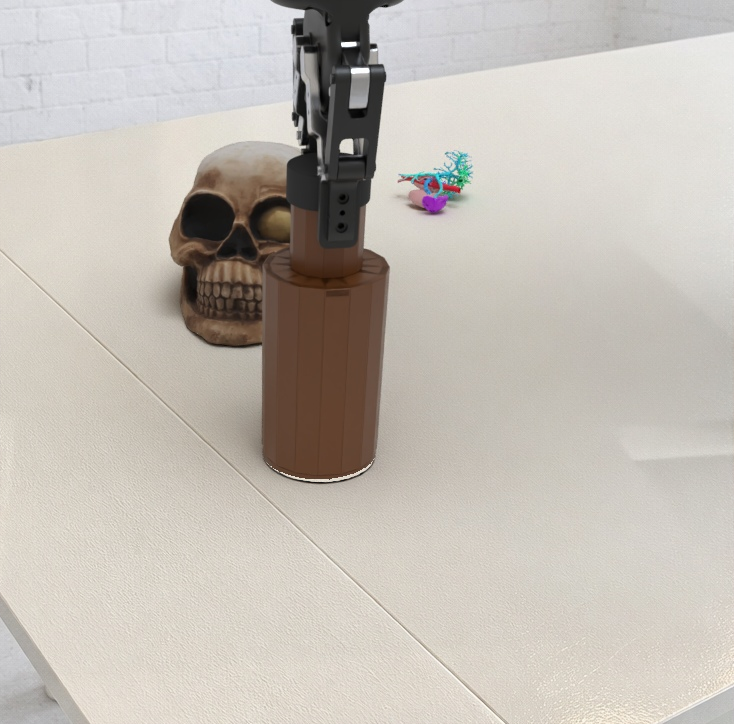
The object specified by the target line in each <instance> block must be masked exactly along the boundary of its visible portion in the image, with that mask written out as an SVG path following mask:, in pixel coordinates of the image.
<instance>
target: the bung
mask: <svg viewBox="0 0 734 724" xmlns="http://www.w3.org/2000/svg"><path fill="white" fill-rule="evenodd" d="M351 155H353V153H349V152H342V151H340V152H339V156H351ZM317 166H318V153H317V152H315V153H307V154H303V155H299V156H296V157H294V158H292V159H290V160H289V161H288V163H287V176H286V199H287V201H288V202H289V203H290V204H292V205H293V206H296V207H298V208H301V209H305V210H310V211H318V191H319V177H318V176H317V171H316V170H317ZM371 193H372V179H365V181H361V197H360V207H363V206H364V205H366V206H367V204H369V202H370V201H371Z"/></svg>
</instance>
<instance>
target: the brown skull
mask: <svg viewBox="0 0 734 724" xmlns="http://www.w3.org/2000/svg"><path fill="white" fill-rule="evenodd" d="M299 155H301V148H300V147H296V146H293V145H290V144H287V143H282V142H276V141H275V142H274V141H264V140H245V141H237V142H234V143H229V144H227V145H224V146H222V147H219V148H218V149H216V150H214V151H212V152H211V153H209V154H207V155H206V156H205V157H203V159H202V160H201V161H200V163H199V165H198V167H197V169H196V174H195V177H194V180H193V184H192V187H191V189H190V190H189V191H188V193H187V194H186V195H185V197H184V199H183V201H182V204H181V206H180V210H179V213H177V216H176V218H175V219H174V221H173V224H172V227H171V229H170V233H169V236H168V244H169V250H170V257H171V259H172V261H173V262H174V264H177V265H178V266H180V267H182V275H181V279H180V280H181V284H180V285H181V286H180V294H179V295H180V296H179V304H180V308H181V313H182V317H183V318H184V322H185V326H186V328H187V329H189V330H190V331H191V332H192V333H195V334H197V335H199V336H201V337H202V338H203V340H205V341H207V342H208V343H210V344H214V345H225V346H232V347H234V346H237V347H238V346H246V345H247V346H248V345H252V344H262V288H263V263H264V262H265V260H266V259H267V257H268V256H269V255H270V254H272V253H275V252H277V251H279V250H281V249H283V248H287V247H290V224H291V204H290V203H289V202H288V201H287V199H286V176H287V163H288V161H289V160H290V159H292V158H294V157H296V156H299Z"/></svg>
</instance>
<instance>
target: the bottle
mask: <svg viewBox="0 0 734 724" xmlns="http://www.w3.org/2000/svg"><path fill="white" fill-rule="evenodd" d="M366 215H367V204H366V205H364V206H363V207H360V215H359V232H358V241H357V243H356V245H355V246H353V247H351V248H334V249H325V248H323V247H321V245H320V244H319V242H318V240H317V220H318V211H310V210H305V209H301V208H298V207H296V206H293V205H292V204H291V224H290V247H287V248H283V249H281V250H279V251H277V252H275V253H272V254H270V255H269V256H268V257H267V259H266V260H265V262H264V263H263V288H262V343H261V447H262V448H261V449H262V450H261V451H262V453H263V454H262V458H263V457H264V458H263V460H264V459H265V460H264V462H265V461H266V462H267V463H268V464H269V465H270V466H272V468H274V469H276V470H278V471H279V472H283V473H285V474H288V475H291V476H295V477H299V478H305V479H329V480H330V479H332V478H338V477H343V476H347V475H350V474H354V473H356V472H358V471H360V470H362V469H363V468H366V467H367V466H368V465H369V464H371V462H372V461H373V459H374V458H375V459H376V455H375V454H377V453H376V452H377V448H378V440H379V439H378V437H379V425H380V424H379V423H380V409H381V399H382V398H381V396H382V381H383V369H384V368H383V367H384V355H385V342H386V329H387V328H386V326H387V313H388V300H389V286H390V273H391V266H390V265H389V262H388V261H387V260H386V258H385V257H384V256H382V255H380V254H379V253H377V252H375V251H373V250H371V249H370V248H369V249H368V248H365V234H366V233H365V232H366ZM266 462H265V463H266ZM267 463H266V464H267Z"/></svg>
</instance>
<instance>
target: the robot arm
mask: <svg viewBox="0 0 734 724" xmlns="http://www.w3.org/2000/svg"><path fill="white" fill-rule="evenodd" d="M270 1H271V2H272V3H274V4H276V5H278V6H281V7H284V8H288V9H294V10H298V11H304V15H303V17H294V18H293V20H292V24H291V25H290V34H291V35H292V48H291V49H292V50H291V51H292V52H291V56H292V111H291V121H292V122H293V127H294V128H297V130H296V131H295V138H296V140H297V143H298V146H299V147H303V148H300V149H301V155H303V154H307V153H315V152H317V153H318V166H317V170H316V171H317V176H318V177H319V191H318V220H317V240H318V242H319V244H320V245H321V247H323V248H325V249H334V248H351V247H353V246H355V245H356V243H357V241H358V232H359V215H360V197H361V181H365V179H371V180H373V179H374V177H375V172H376V171H377V154H378V145H379V138H380V136H379V135H380V128H381V127H380V126H381V119H382V109H383V102H384V92H385V84H386V82H387V71H386V69H385V65H384V64H383V63H379V48H378V47H379V46H378V43H377V42H371V40H370V39H371V37H370V36H371V35H370V34H371V33H370V31H371V29H370V27H371V26H370V23H369V20H370V15H371V14H372V12H374V11H375V10H376V9H378V8H383V9H386V8H391V7H393V6H397V5H399V4H401V3H402V2H404V1H405V0H270ZM344 140H352V149H353V150H352V154H353V155H351V156H339V152H341V149H340V146H341V144H342V142H343V141H344Z"/></svg>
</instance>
